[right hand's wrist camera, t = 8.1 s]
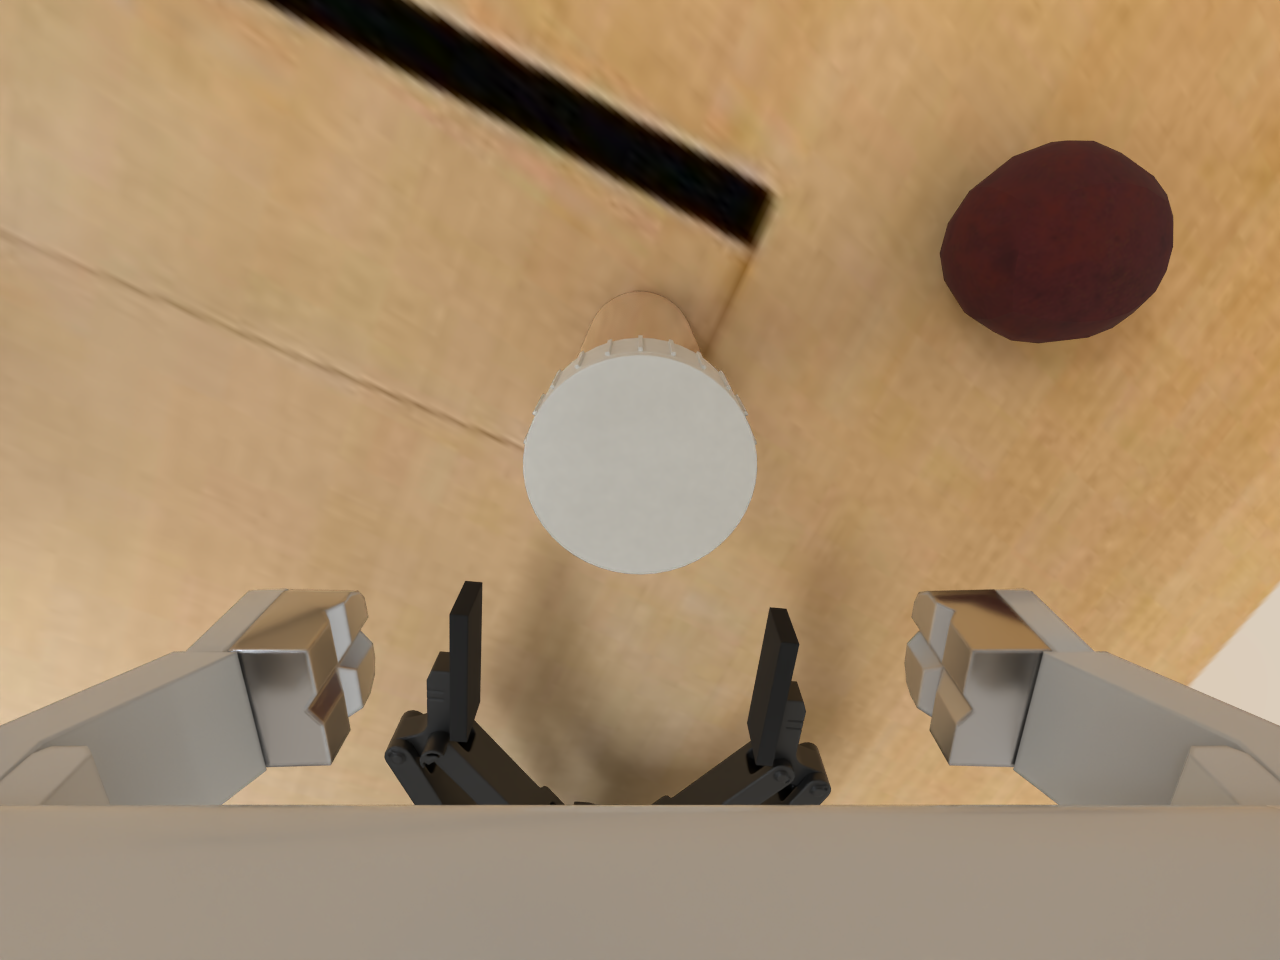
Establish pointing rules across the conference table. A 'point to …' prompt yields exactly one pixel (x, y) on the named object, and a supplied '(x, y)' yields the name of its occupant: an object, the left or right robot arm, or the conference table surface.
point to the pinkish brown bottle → (639, 321)
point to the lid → (640, 457)
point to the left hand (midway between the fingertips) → (626, 610)
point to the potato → (1058, 243)
